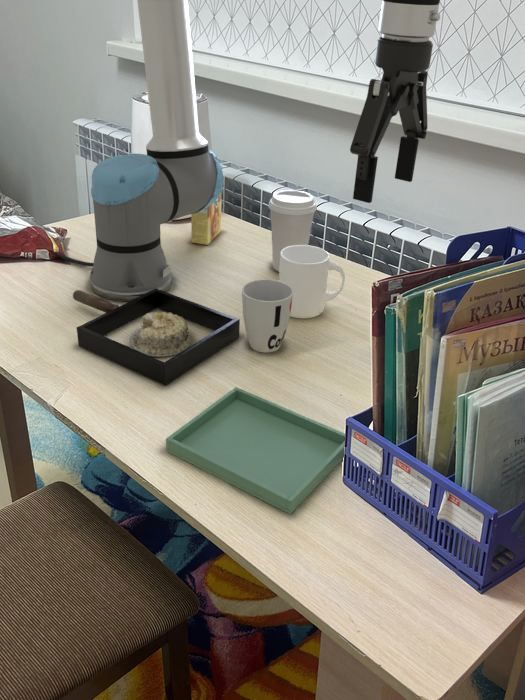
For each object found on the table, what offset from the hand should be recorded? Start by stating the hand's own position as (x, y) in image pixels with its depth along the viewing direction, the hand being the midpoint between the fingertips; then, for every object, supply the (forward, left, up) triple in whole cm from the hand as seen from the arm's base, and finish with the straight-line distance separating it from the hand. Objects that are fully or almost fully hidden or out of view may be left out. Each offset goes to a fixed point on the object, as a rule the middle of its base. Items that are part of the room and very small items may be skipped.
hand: (383, 189), depth 105 cm
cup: (-12, -13, -26) cm, 31 cm away
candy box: (-49, +18, -26) cm, 58 cm away
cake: (-26, -23, -26) cm, 43 cm away
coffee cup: (-26, +16, -26) cm, 40 cm away
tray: (+3, -36, -26) cm, 44 cm away
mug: (-13, +3, -26) cm, 29 cm away
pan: (-31, -23, -26) cm, 46 cm away
